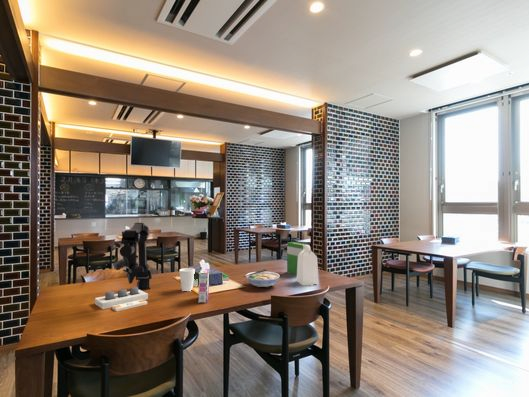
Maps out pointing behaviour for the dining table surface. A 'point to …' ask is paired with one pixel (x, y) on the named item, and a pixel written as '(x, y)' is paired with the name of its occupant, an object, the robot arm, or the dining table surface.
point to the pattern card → (129, 305)
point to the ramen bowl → (262, 278)
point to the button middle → (122, 293)
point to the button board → (120, 299)
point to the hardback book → (293, 255)
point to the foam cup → (187, 278)
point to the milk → (307, 267)
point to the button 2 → (133, 290)
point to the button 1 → (109, 295)
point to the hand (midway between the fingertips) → (130, 283)
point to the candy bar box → (203, 286)
